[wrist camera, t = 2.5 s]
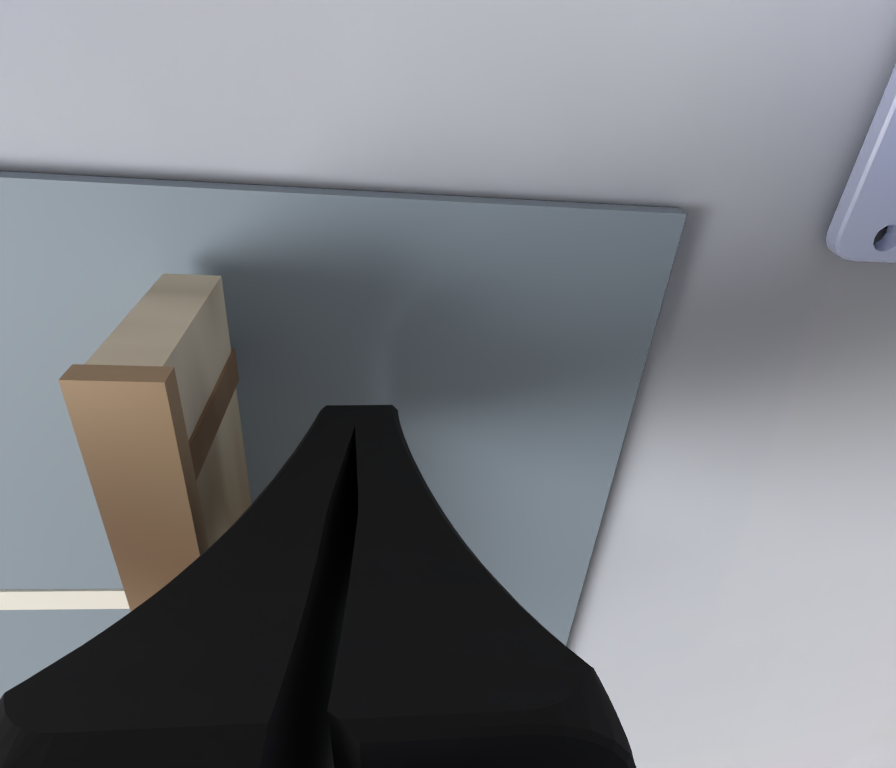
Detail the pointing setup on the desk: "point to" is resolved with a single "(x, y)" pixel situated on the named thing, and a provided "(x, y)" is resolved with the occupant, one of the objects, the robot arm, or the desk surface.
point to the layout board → (332, 362)
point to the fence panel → (162, 431)
